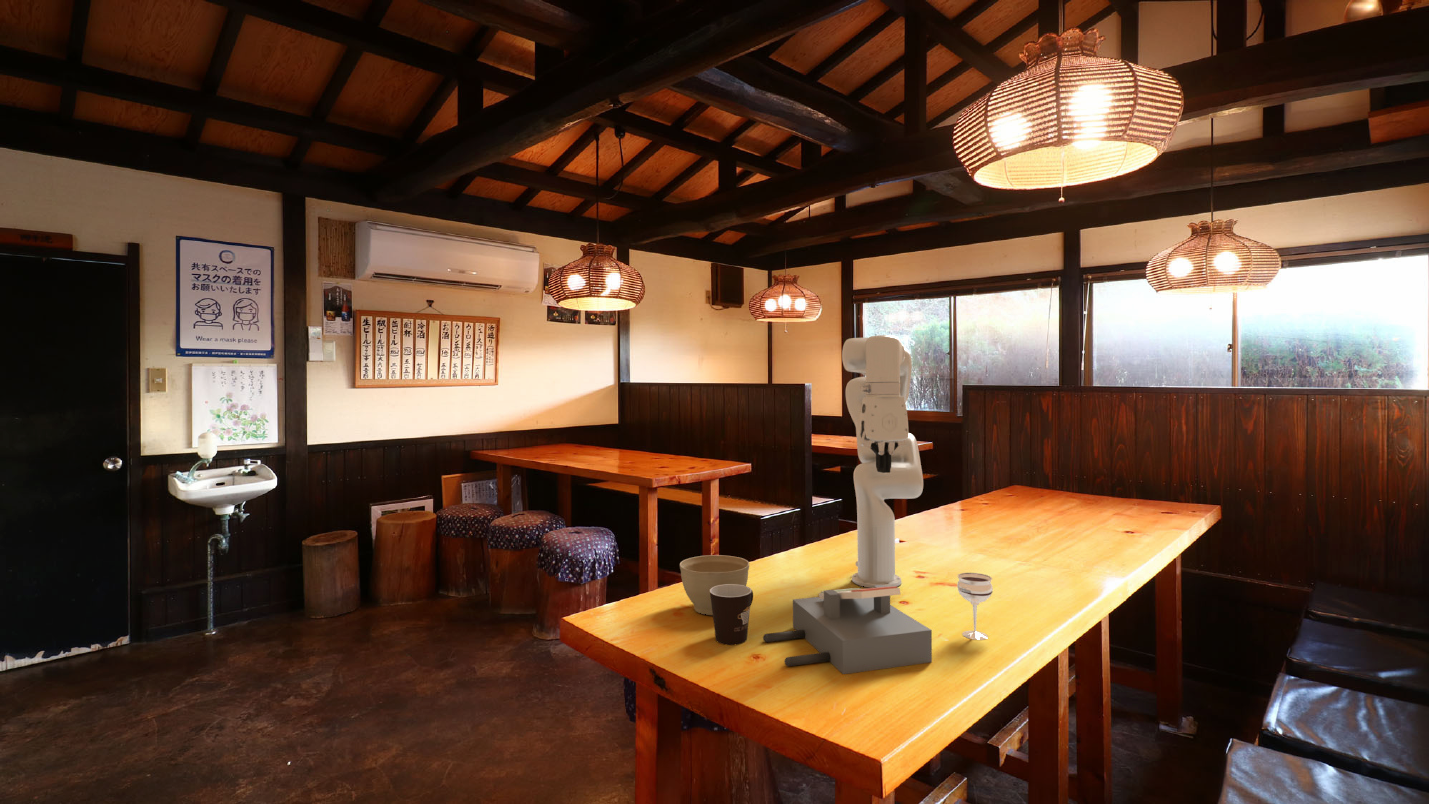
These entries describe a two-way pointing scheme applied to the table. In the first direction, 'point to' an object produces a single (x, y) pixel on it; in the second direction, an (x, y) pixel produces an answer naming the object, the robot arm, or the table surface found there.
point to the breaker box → (856, 633)
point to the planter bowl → (711, 577)
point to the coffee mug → (731, 612)
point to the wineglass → (975, 596)
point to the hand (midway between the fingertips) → (883, 471)
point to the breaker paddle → (865, 592)
